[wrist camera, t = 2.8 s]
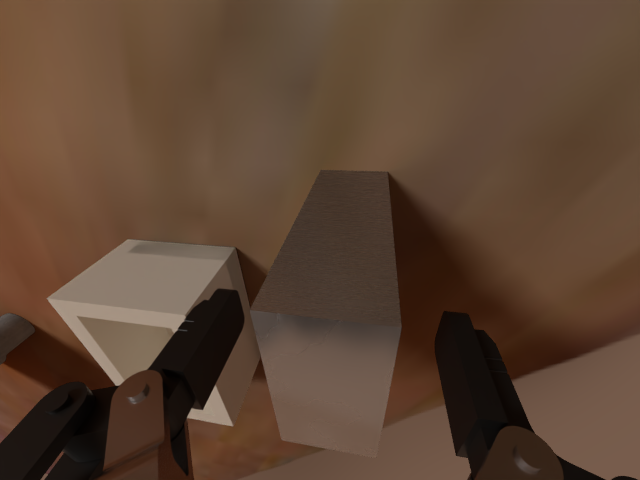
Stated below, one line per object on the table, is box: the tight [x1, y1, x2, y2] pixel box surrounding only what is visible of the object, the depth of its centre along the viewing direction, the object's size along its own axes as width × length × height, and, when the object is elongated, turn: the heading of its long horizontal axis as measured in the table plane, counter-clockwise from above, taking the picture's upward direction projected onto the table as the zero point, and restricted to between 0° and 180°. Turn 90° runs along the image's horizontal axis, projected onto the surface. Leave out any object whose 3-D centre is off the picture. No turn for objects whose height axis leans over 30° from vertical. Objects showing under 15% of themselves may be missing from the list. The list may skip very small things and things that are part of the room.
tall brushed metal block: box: [250, 170, 402, 458], centre depth 12 cm, size 4×7×10 cm, turn 2°
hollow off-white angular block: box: [47, 239, 261, 426], centre depth 20 cm, size 8×12×6 cm
